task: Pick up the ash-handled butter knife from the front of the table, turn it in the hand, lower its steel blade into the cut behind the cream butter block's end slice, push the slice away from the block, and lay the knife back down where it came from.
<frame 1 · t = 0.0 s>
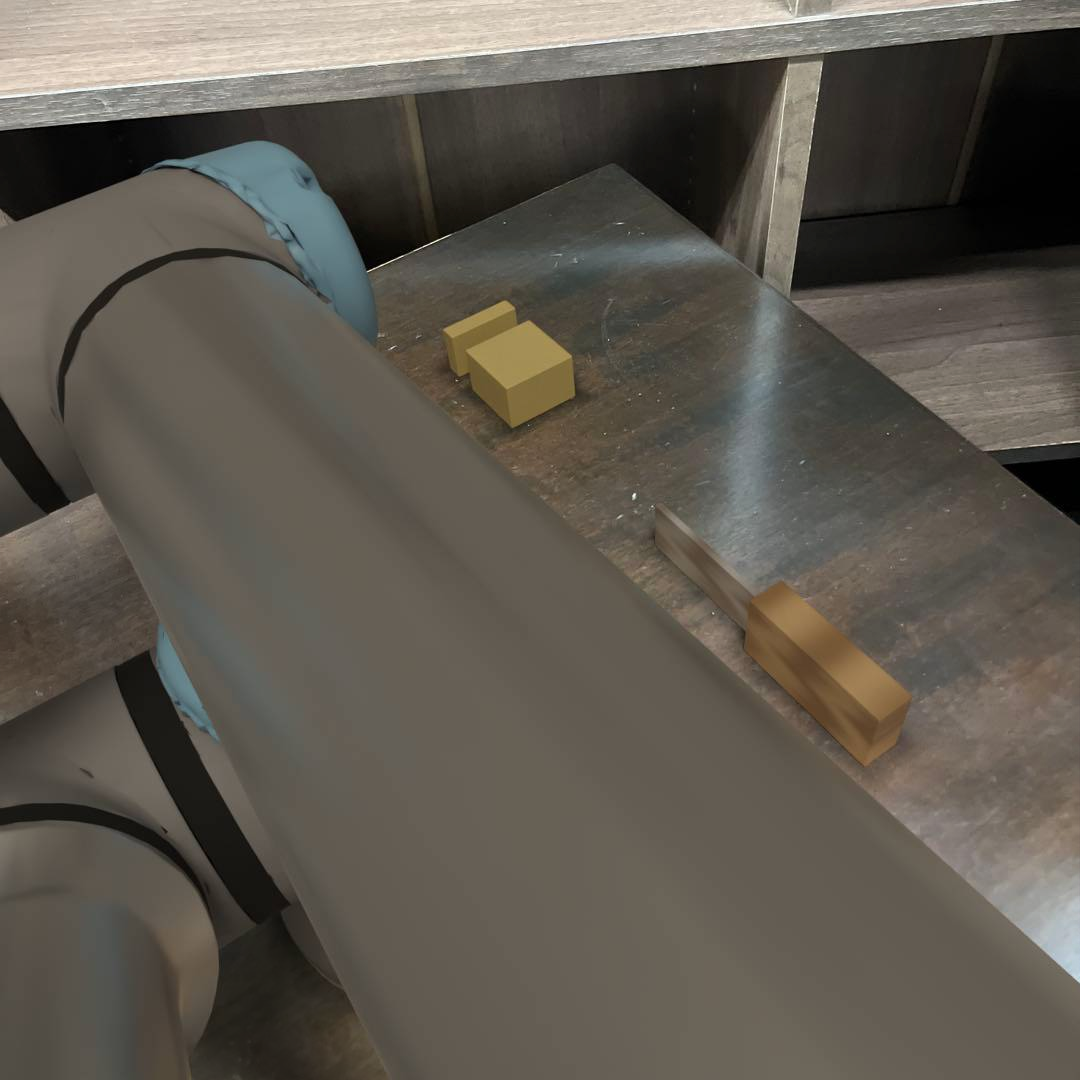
knife: (880, 755, 55), on the table
carton: (241, 466, 76), on the table
butter slice: (485, 358, 82), on the table
butter: (523, 393, 79), on the table
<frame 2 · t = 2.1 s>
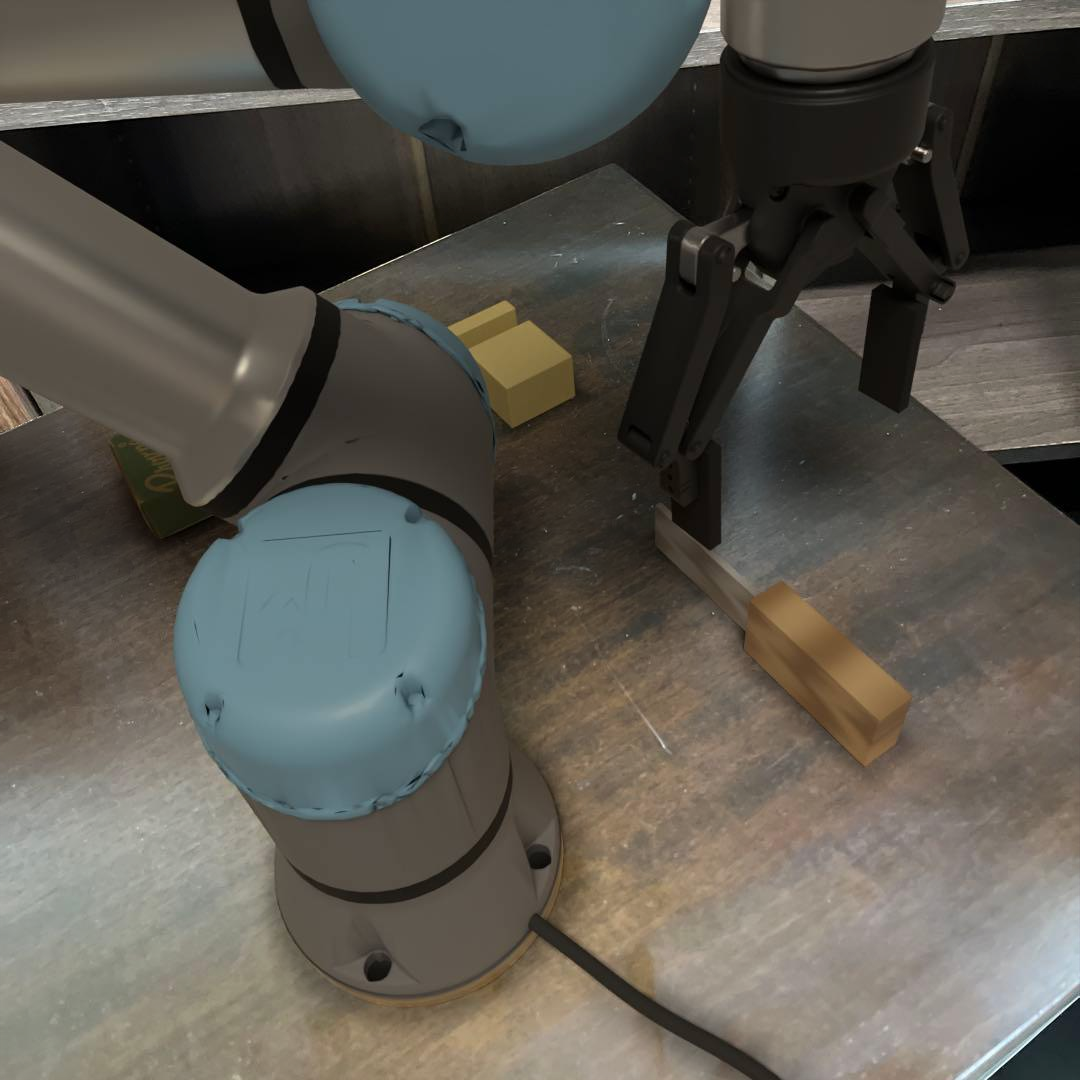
hand: (793, 463, 51), 14 cm above the table, tool pointing down, fingers open, 13 cm apart
nothing on the table moved.
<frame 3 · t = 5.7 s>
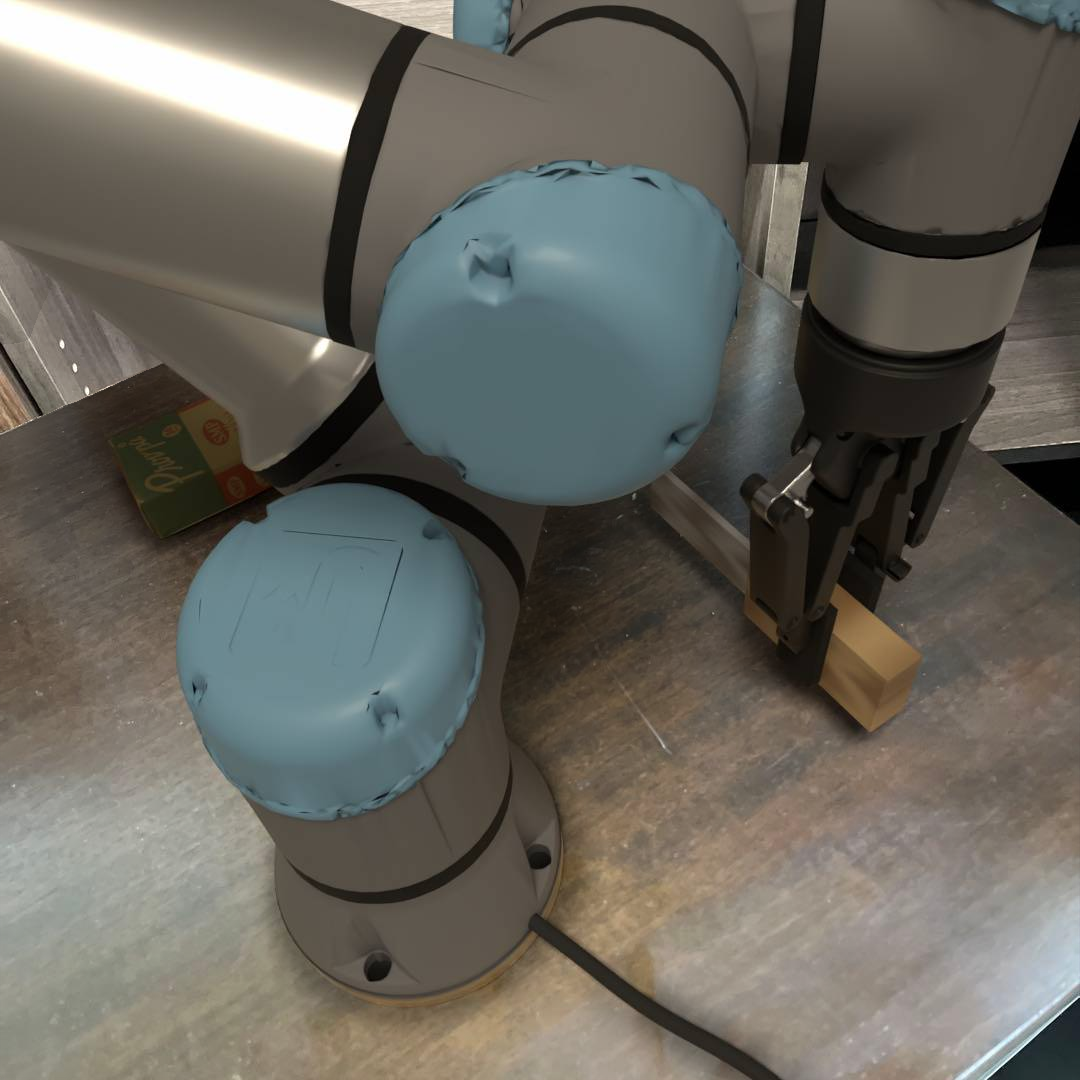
hand: (818, 653, 55), 4 cm above the table, tool pointing down, fingers closed on knife, 2 cm apart
knife: (886, 721, 53), point 4 cm above the table, touching gripper
everything else where it was.
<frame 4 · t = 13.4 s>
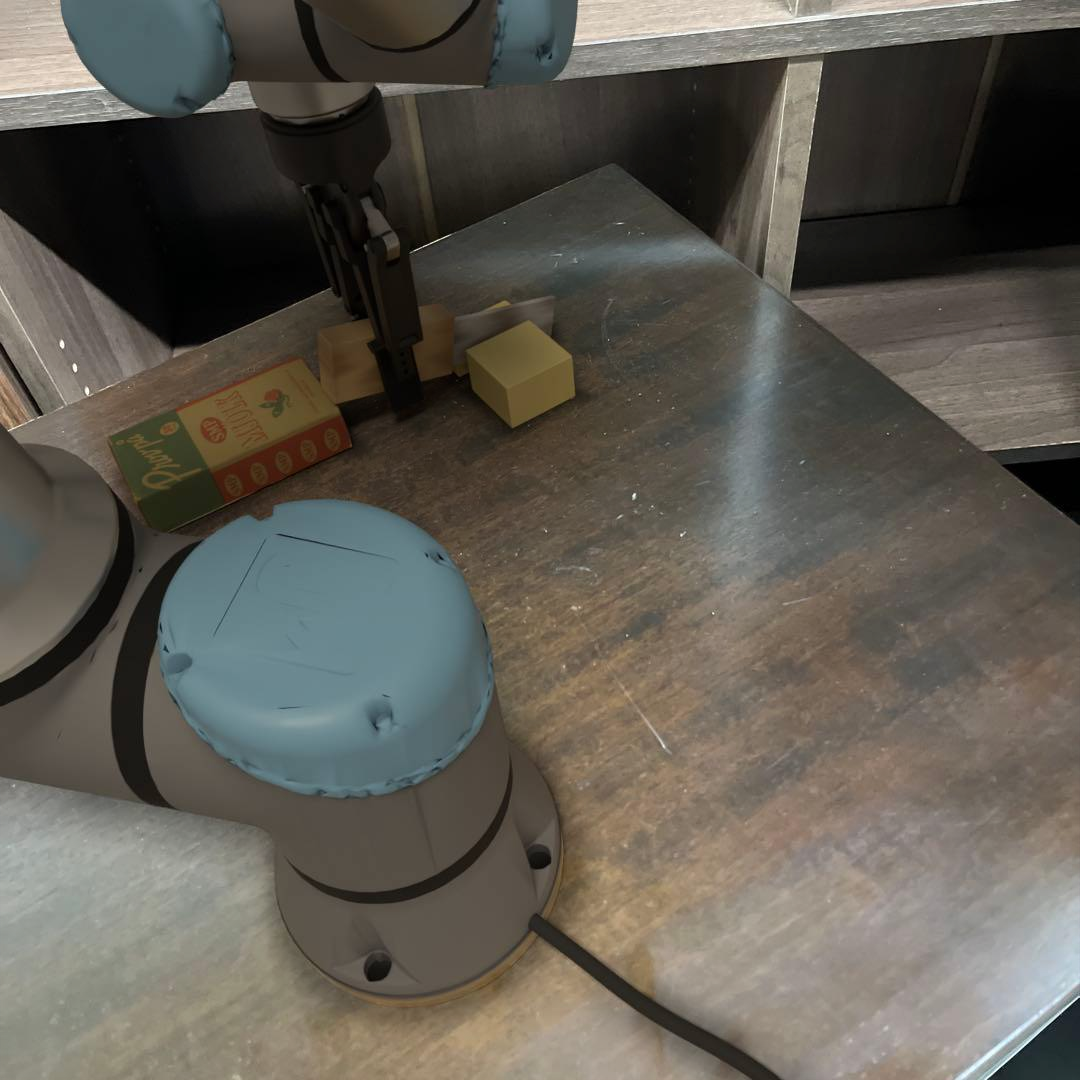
hand: (397, 393, 77), 2 cm above the table, tool pointing down, fingers closed on knife, 3 cm apart
knife: (327, 396, 74), point 4 cm above the table, tilted 12°, touching carton, gripper
carton: (239, 464, 76), on the table, touching knife
everything else where it was.
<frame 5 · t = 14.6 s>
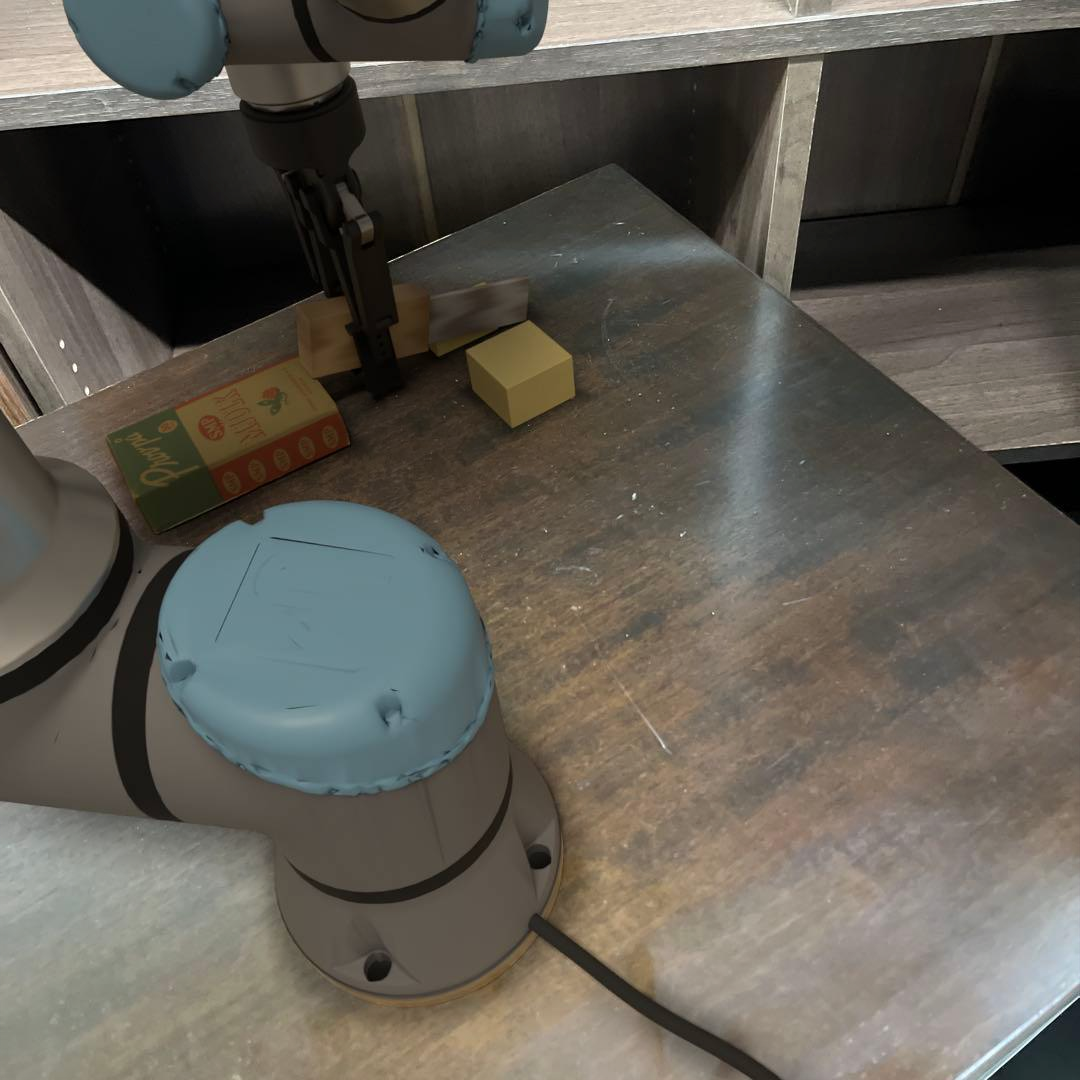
hand: (376, 376, 80), 1 cm above the table, tool pointing down, fingers closed on knife, 2 cm apart
knife: (305, 371, 76), point 4 cm above the table, tilted 13°, touching butter slice, carton, gripper
butter slice: (464, 338, 84), on the table, touching knife
everything else where it was.
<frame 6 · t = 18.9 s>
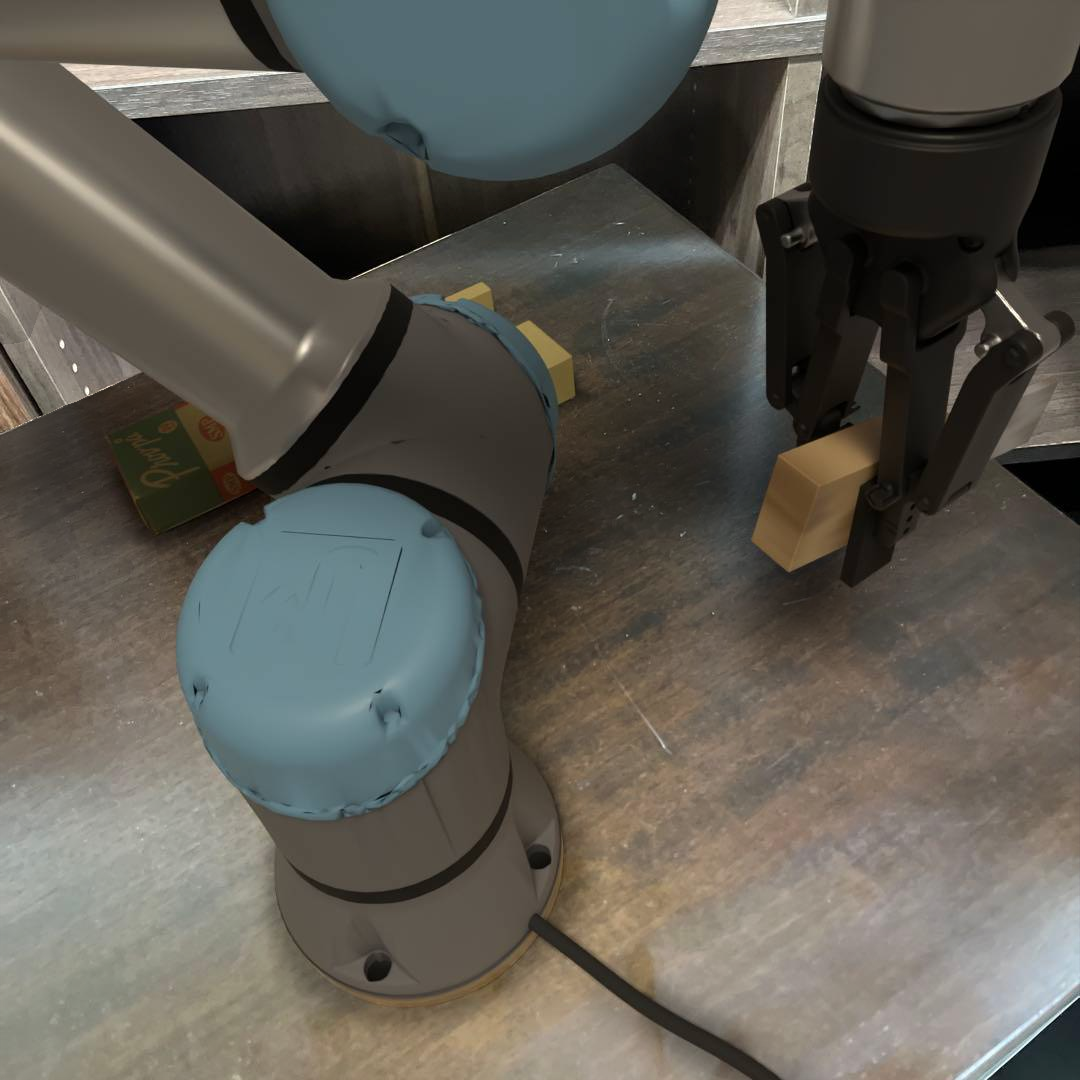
hand: (841, 550, 49), 13 cm above the table, tool pointing down, fingers closed on knife, 2 cm apart
knife: (768, 557, 45), point 16 cm above the table, tilted 13°, touching gripper
carton: (237, 462, 76), on the table
butter slice: (462, 338, 84), on the table
when the fingers open (0 cm above the table, at t = 23.1 s): knife drops 3 cm, on the table.
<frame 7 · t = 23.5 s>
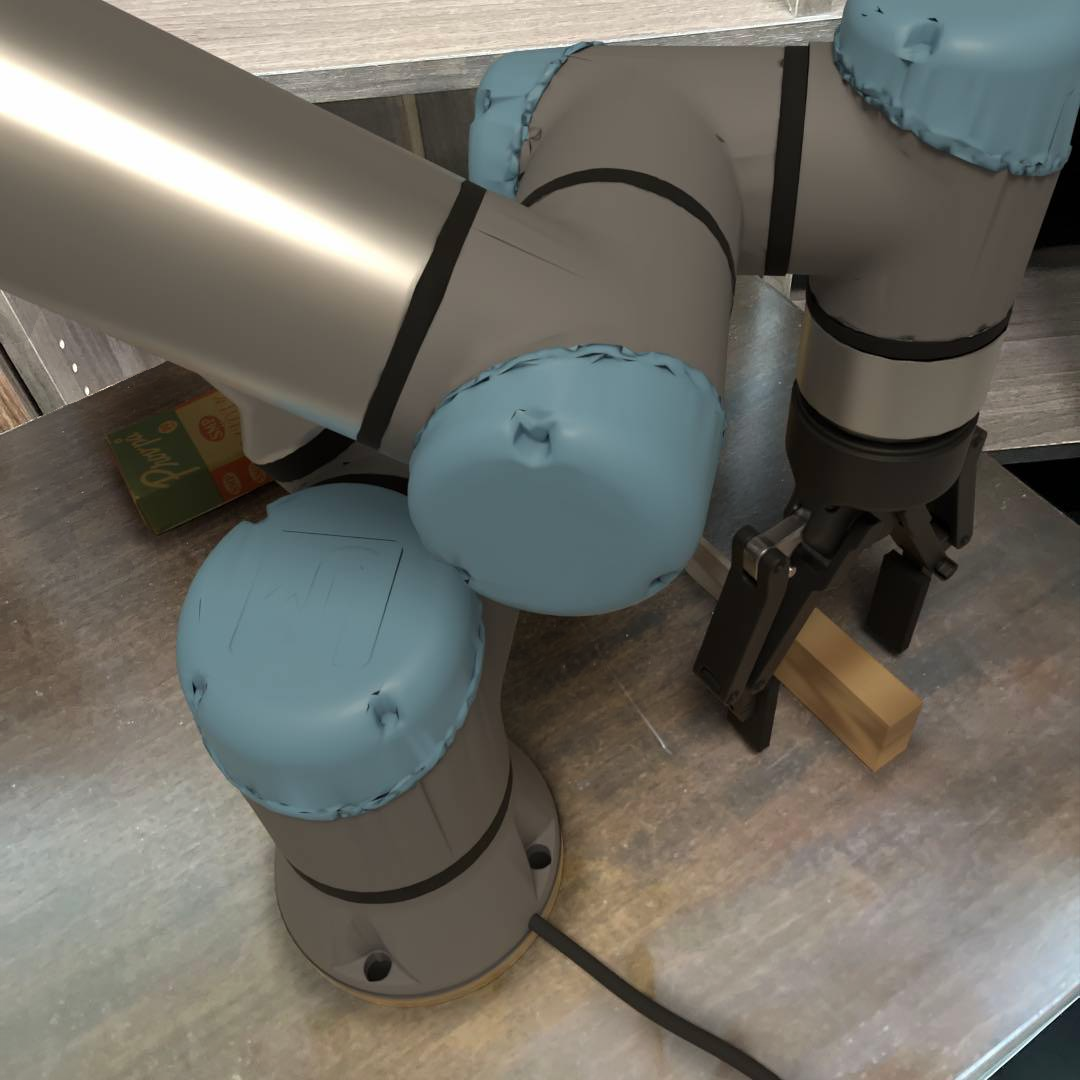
hand: (819, 682, 57), 1 cm above the table, tool pointing down, fingers open, 10 cm apart
knife: (890, 761, 55), on the table
everything else where it was.
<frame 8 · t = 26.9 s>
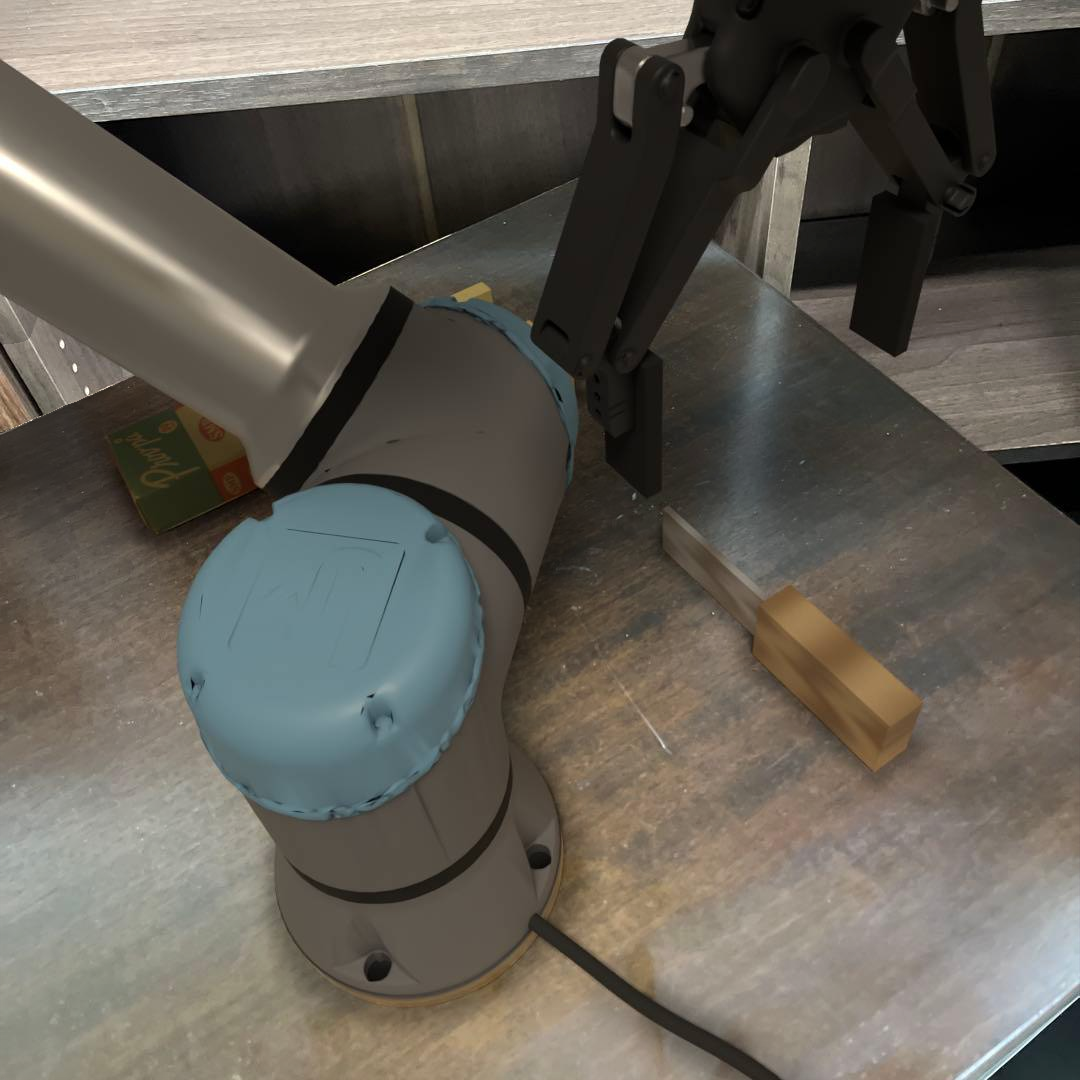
hand: (761, 405, 42), 23 cm above the table, tool pointing down, fingers open, 13 cm apart
nothing on the table moved.
at the end: butter slice moved 3.5 cm from its start; butter slice touching table; knife inside the target area (0.6 cm from its centre), on the table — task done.
